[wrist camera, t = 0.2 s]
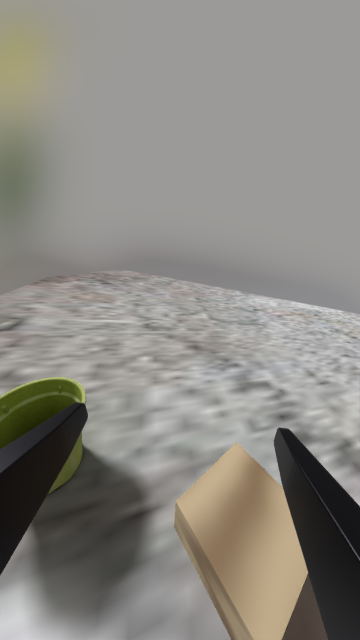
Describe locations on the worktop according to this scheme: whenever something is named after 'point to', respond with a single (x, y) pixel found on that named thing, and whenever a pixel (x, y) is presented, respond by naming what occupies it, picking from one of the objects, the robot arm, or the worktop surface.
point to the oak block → (243, 546)
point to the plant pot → (40, 414)
